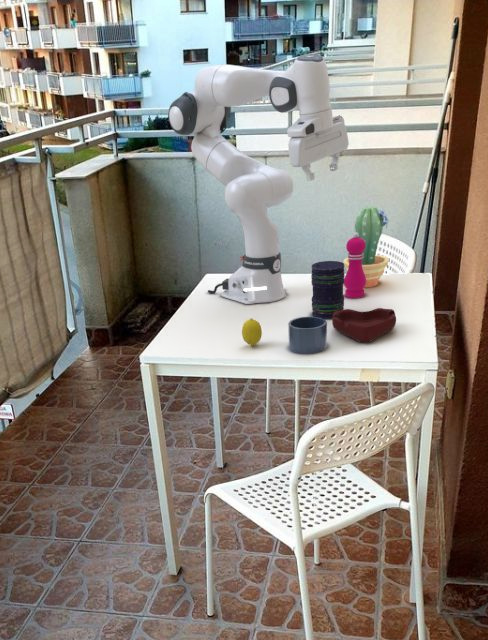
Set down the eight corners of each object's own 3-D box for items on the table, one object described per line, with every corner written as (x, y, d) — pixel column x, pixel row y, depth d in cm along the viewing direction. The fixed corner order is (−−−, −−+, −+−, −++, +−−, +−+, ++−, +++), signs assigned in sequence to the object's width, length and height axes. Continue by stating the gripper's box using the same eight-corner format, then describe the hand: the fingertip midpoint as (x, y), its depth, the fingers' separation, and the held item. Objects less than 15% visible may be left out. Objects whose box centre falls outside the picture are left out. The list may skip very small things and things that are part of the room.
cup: (281, 349, 191) (281, 325, 188) (303, 338, 198) (303, 314, 194) (312, 356, 185) (311, 331, 182) (333, 344, 191) (333, 320, 188)
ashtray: (332, 345, 191) (332, 328, 188) (332, 325, 205) (332, 309, 202) (398, 343, 188) (399, 326, 186) (394, 323, 202) (394, 307, 199)
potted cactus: (379, 291, 229) (383, 212, 216) (335, 288, 236) (336, 211, 223) (394, 279, 240) (398, 202, 227) (351, 276, 247) (353, 201, 234)
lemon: (260, 349, 193) (259, 321, 188) (241, 349, 194) (239, 321, 190) (263, 342, 197) (262, 315, 193) (244, 342, 198) (242, 315, 194)
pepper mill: (369, 293, 229) (371, 230, 218) (360, 299, 224) (362, 235, 213) (348, 291, 232) (350, 229, 222) (339, 297, 227) (340, 234, 217)
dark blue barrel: (343, 308, 217) (344, 260, 210) (344, 318, 209) (345, 268, 201) (311, 309, 219) (311, 261, 211) (311, 319, 210) (310, 270, 203)
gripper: (334, 113, 197) (339, 164, 205) (282, 132, 189) (289, 185, 196) (351, 112, 193) (355, 165, 201) (298, 131, 184) (305, 186, 192)
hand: (322, 175), depth 198 cm, fingers open, 8 cm apart
